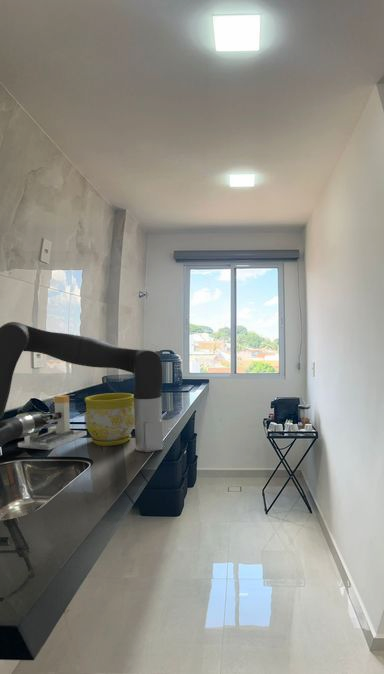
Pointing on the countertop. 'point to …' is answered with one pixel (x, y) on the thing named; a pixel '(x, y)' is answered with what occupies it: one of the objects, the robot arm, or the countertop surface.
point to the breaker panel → (50, 439)
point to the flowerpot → (110, 418)
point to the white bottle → (62, 413)
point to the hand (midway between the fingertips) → (59, 415)
